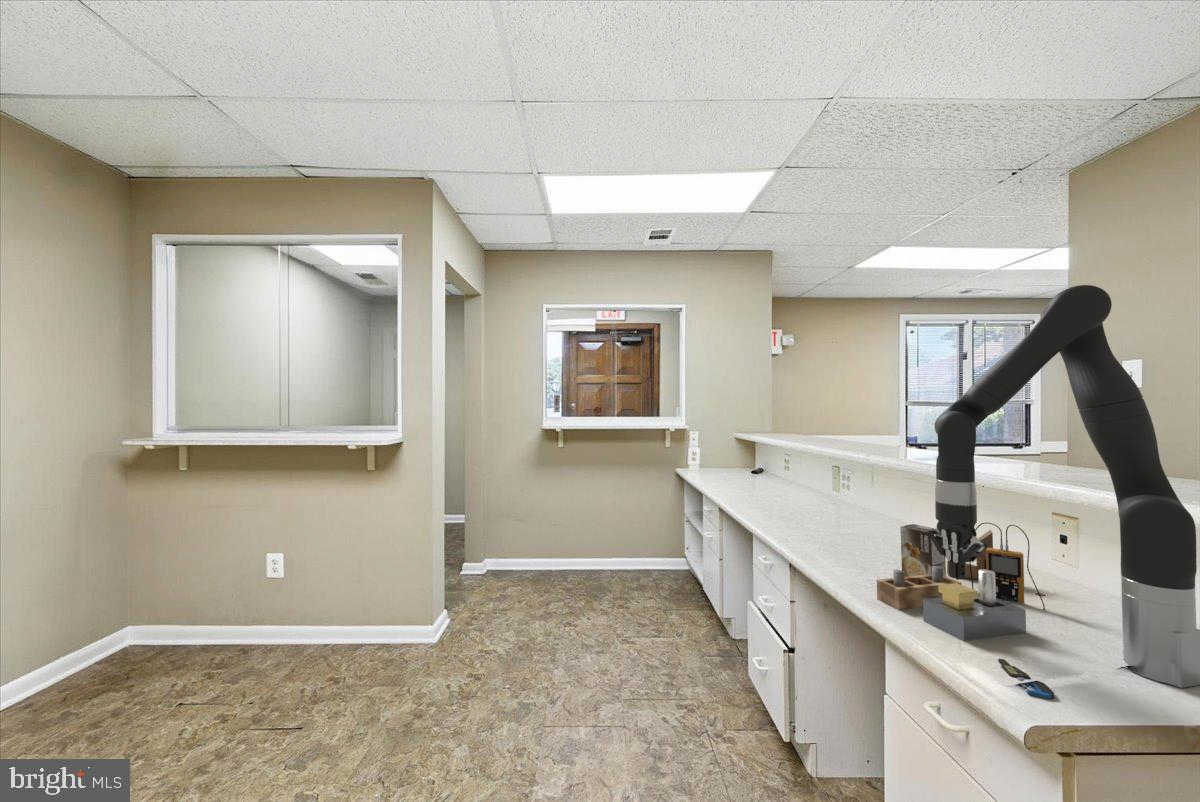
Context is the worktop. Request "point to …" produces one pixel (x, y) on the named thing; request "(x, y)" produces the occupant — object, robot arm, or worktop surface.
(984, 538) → the wooden block
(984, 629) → the tool block
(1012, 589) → the multimeter
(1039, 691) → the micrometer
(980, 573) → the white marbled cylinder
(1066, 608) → the worktop surface
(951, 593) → the yellow square-headed peg
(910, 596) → the bit rack
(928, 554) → the coffee box
